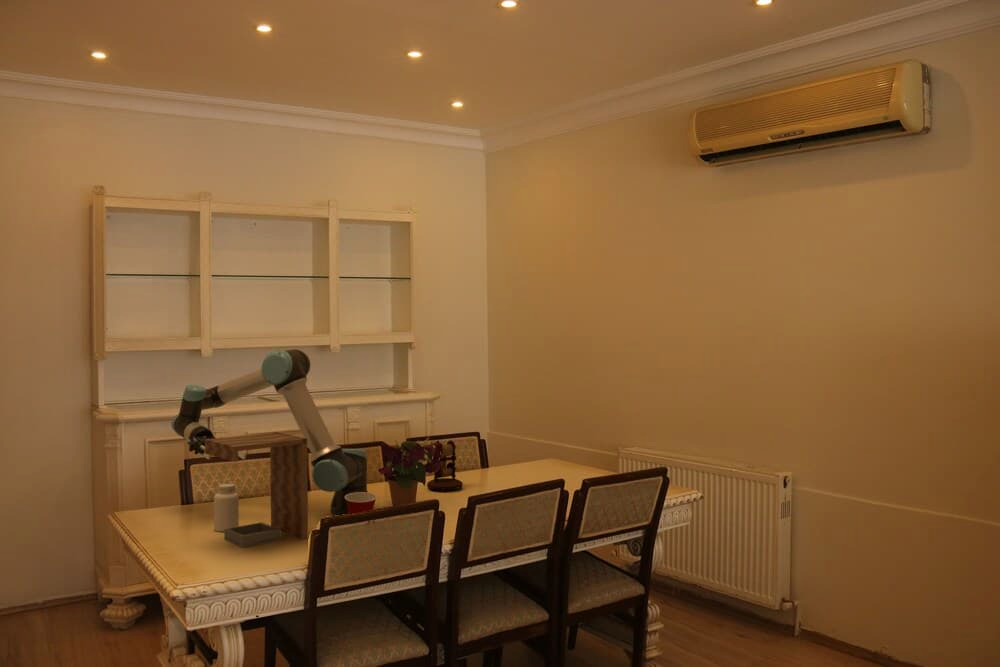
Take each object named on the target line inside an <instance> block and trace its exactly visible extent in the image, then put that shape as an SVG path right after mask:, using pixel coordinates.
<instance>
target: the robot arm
mask: <svg viewBox="0 0 1000 667" xmlns="http://www.w3.org/2000/svg"><path fill="white" fill-rule="evenodd" d="M310 370H311V360H310V357H309V356H308V355H307V354H306V352H304V351H302V350H299V349H287V350H286V349H284V350H283V349H282V350H281V349H279V350H276V351H272V352H269V354H267V355H266V356H265V357H264V359H263V361H262V364H261V368H260V369H257V370H253V371H252V372H249V373H247V374H244V375H242V376H239V377H236V378H234V379H231V380H229V381H226V382H224V383H220V384H219V385H216V386H212V387H210V388H205V387H204V386H201V385H199V384H188V385H186V386H185V388H184V391H183V394H182V399H181V402H180V408H179V412H178V414H177V415H175V416H174V417H173V418H172V421H171V424H170V425H171V428H172V430H173V431H174V432H175V433H176V434H177V435H178V436H180V437H182V438H183V439H184V440H186V441H187V445H188V452H191V453H192V452H193V451H194V453H193V454H195V455H199V454H200V455H201V456H202V457H204V458H205V459H206V460H210V459H211V456H212V455H209V454H205V439H214V438H216V436H214V433H213V432H212V430H210V428H209V429H208V427H205V425H203V424H201V423H200V418H201V414H202V411H204V410H209V409H215V408H217V409H218V408H220V407H223V406H224V405H226V404H228V403H230V402H233V401H235V400H238V399H242V398H244V397H247V396H249V395H252V394H254V393H256V392H260V391H262V390H265V389H267V388H271V387H274V389H275V391H276V393H277V394H279V395H282V396H283V397H284V399H285V401H286V403H287V406H288V408H289V410H290V412H291V414H292V417H293V418H294V420H295V423H296V424H297V427H298V429H299V431H300V433H301V435H302V438H307V448H308V450H309V451H310V453H311V455H312V456H311V459H310V464H311V466H312V468H313V469H312V480H313V482H314V484H315V486H316V487H317V488H319V489H320V491H321V490H322V491H324V492H328V493H333V496H332V499H331V502H330V508H329V509H330V513H331V514H333V515H336V516H337V515H338V516H341V515H340V514H348V513H349V511H348V506H347V502H346V500H345V496H346V495H347V494H350V493H356V492H367V493H369V492H368V456H367V450H365V449H363V448H362V449H361V448H342V447H341V446H340V445H338V444H335V442H334V440H333V438H332V436H331V434H330V432H329V430H328V427H327V426H326V424H325V422H324V420H323V418H322V416H321V413H320V412H319V410H318V407H317V406H316V403H315V402H314V398H313V397H312V395H311V393H310V391H309V389H308V387H307V381H308V377H307V376H308V374H309V373H310ZM220 438H224V437H222V436H221V437H220ZM246 457H247V450H245V451H238V458H240V459H242V460H246V459H247V458H246Z"/></svg>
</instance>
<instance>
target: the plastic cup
mask: <svg viewBox="0 0 1000 667" xmlns="http://www.w3.org/2000/svg"><path fill="white" fill-rule="evenodd" d="M377 499H378V495H376V494H375V493H371V492H368V493H367V492H356V493H350V494H347V495H346V496H345V500H346V502H347V506H348V511H349V514H352V513H358V512H363V511H369V510H373V511H374V507H375V502H376V500H377Z"/></svg>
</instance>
